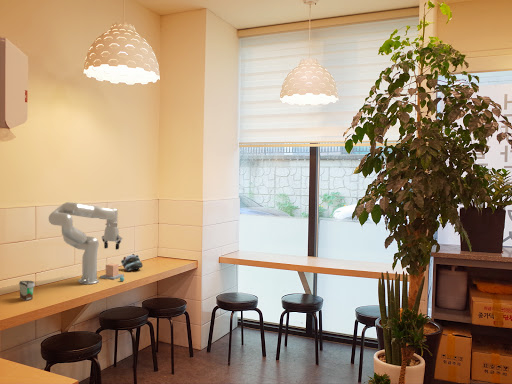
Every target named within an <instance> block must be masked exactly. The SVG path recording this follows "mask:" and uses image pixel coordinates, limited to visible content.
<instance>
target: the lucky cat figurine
mask: <svg viewBox="0 0 512 384" xmlns="http://www.w3.org/2000/svg"><path fill="white" fill-rule="evenodd" d="M120 263H121V265H122V266H123V270H124V272H127V273H128V272H130V271H134V270H139V269H142V268H143V266H144V265H143V263H142V261H141V260H140V257H139V255H138V254H136V255H135V254H134V253H132V254H130V255H127V256H124V257H123V259H121V260H120Z"/></svg>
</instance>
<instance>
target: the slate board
mask: <svg viewBox="0 0 512 384" xmlns="http://www.w3.org/2000/svg"><path fill="white" fill-rule="evenodd" d="M124 276H125V274H121V273H118V275H117V276H114V277H112V276H106V273H105V274H102V275H100V276H99V278H100V279H108V280H117V279H120V277H124Z"/></svg>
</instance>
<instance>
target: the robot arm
mask: <svg viewBox="0 0 512 384" xmlns="http://www.w3.org/2000/svg"><path fill="white" fill-rule="evenodd" d="M72 216H77V217H83V218H87V219H88V218H89V219H100V220H106V223H105V229H104V234H103V235H102V236H101V240H102V242H103V244H104V247H103V248H104V249H108V248H109V243H108V242H114V243H115V250H116V251H117V250H119V249H120V243H121V242H122V240H123V237H121V236H120V233H119V227H118V209H117V208H113V207H112V208H106V207H100V206H95V205H90V204H85V203H80V202H69V201H68V202H65V203H63V204H61V205H60V206H59V207H57V208H55V209H54V210H53V211H52V212H51V213H50V214H49V216H48V222H49V223H50V224H51V225H53V226H60V227H61V235H62V238H63V241H64V242H65V243H66V244H67V245H69V246H71V247H73V248H75V249H78V250H82V251H84V252H83V254H82V260H81V264H82V265H81V267H82V270H81V272H82V274H81V275H82V276H81V277H80V278H79V279H78V280H77V282H78V283H80V284H81V285H93V284H98V283H99V282H100V279H98V277H97V276H98V249H99V246H100V245H99V244H100V243H99V242H100V241H99V240H98V238H96V237H94V236H87V234H85V232H83V231H82V230H79V229H78V228H76V227H75V226H74V223H73V222H74V221H73V220H74V219H73V217H72Z"/></svg>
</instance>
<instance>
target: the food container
mask: <svg viewBox="0 0 512 384" xmlns="http://www.w3.org/2000/svg"><path fill="white" fill-rule="evenodd" d="M18 283H19V284H18V285H19V299H21V300H23V301H25V302H29V301H32V300H33V298H34V297H33V296H34V287H35V286H36V285H35V282H34V281H33V280H19V282H18Z"/></svg>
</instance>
